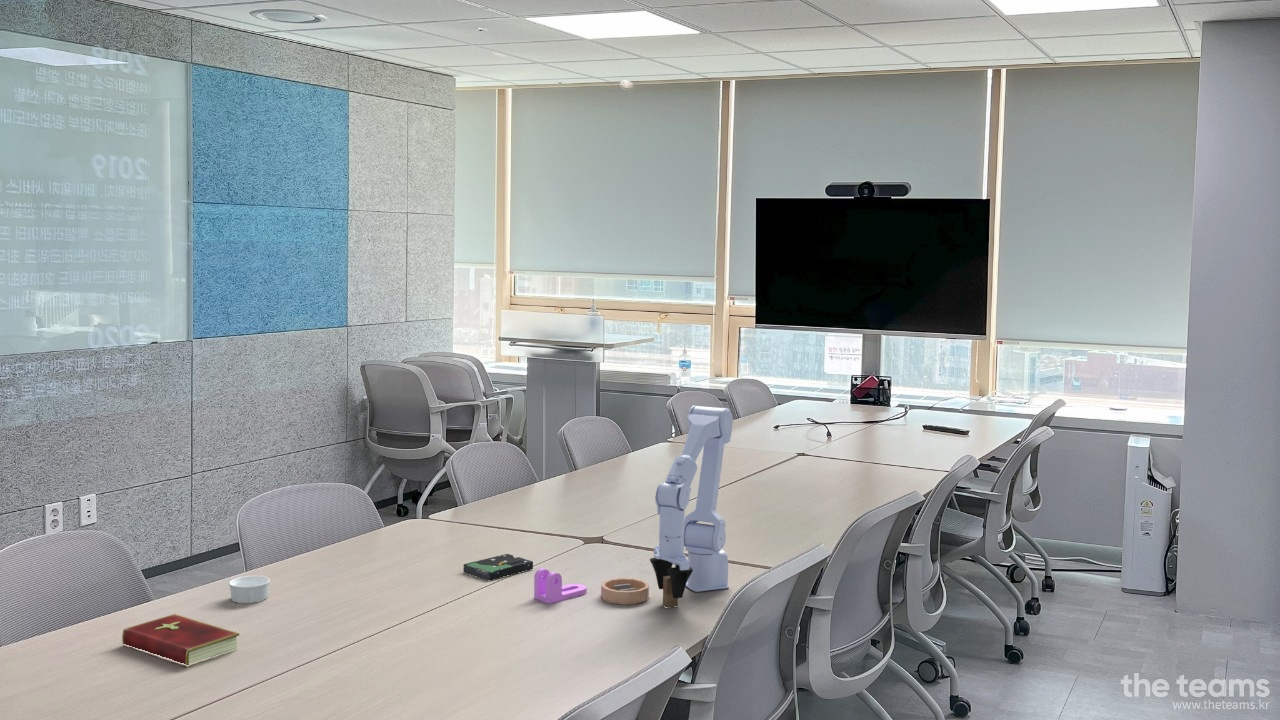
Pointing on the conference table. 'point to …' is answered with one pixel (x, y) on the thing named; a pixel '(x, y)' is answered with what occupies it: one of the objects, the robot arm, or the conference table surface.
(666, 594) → the long tan beam
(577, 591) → the bracket
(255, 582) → the ramekin
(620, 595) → the round tan tray
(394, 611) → the conference table surface
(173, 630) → the hardcover book
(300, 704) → the conference table surface
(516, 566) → the disk drive
